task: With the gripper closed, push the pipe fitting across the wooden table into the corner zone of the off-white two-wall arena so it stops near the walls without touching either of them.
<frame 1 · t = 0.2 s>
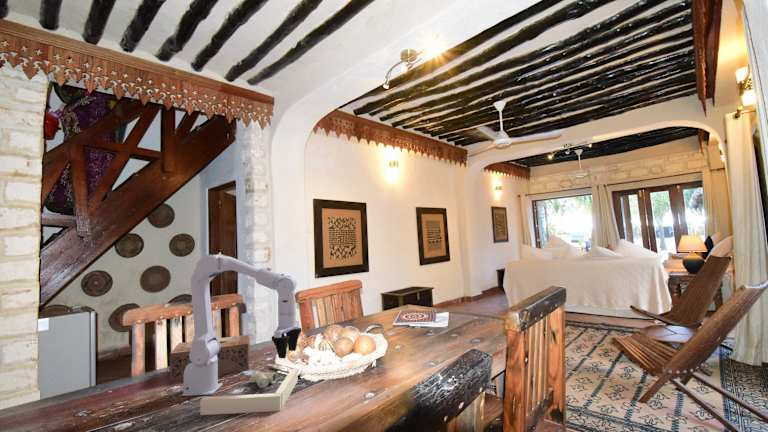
hand: (287, 354, 114), 10 cm above the table, tool pointing down, fingers open, 7 cm apart
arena: (255, 394, 107), on the table
pipe fitting: (261, 386, 114), on the table
tissue box cover: (213, 370, 131), on the table
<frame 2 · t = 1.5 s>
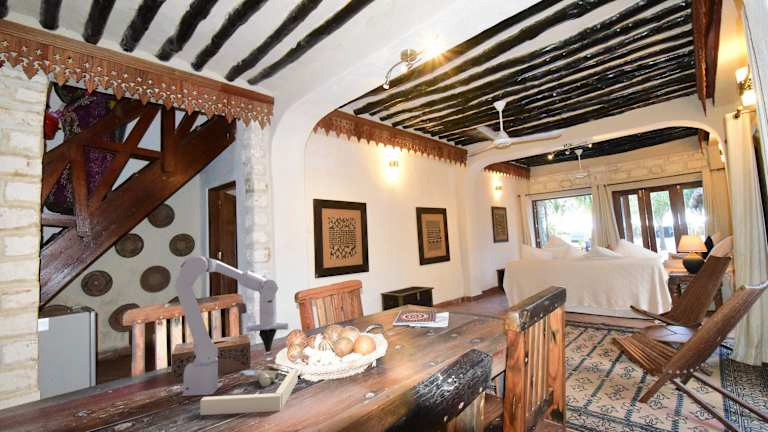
hand: (268, 350, 123), 8 cm above the table, tool pointing down, fingers closed
pipe fitting: (263, 384, 115), on the table
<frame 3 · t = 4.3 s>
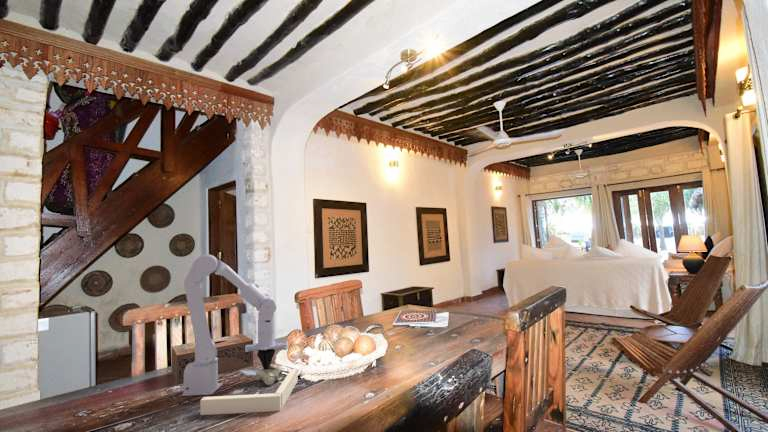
hand: (266, 371, 121), 2 cm above the table, tool pointing down, fingers closed
pipe fitting: (266, 383, 116), on the table
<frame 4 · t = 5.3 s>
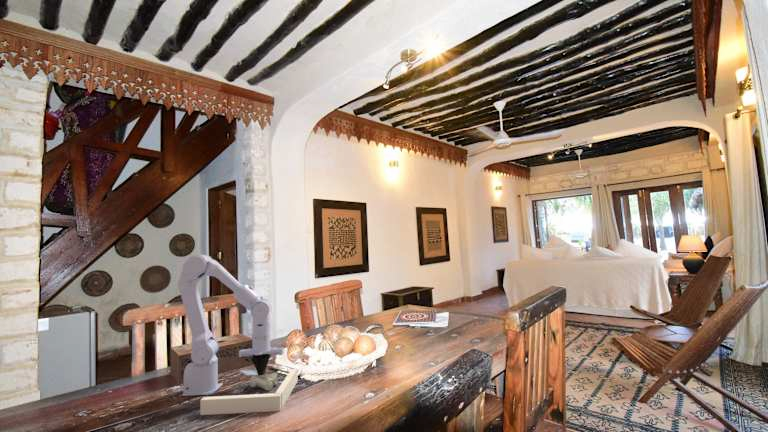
hand: (261, 377, 116), 2 cm above the table, tool pointing down, fingers closed
pipe fitting: (263, 389, 111), on the table
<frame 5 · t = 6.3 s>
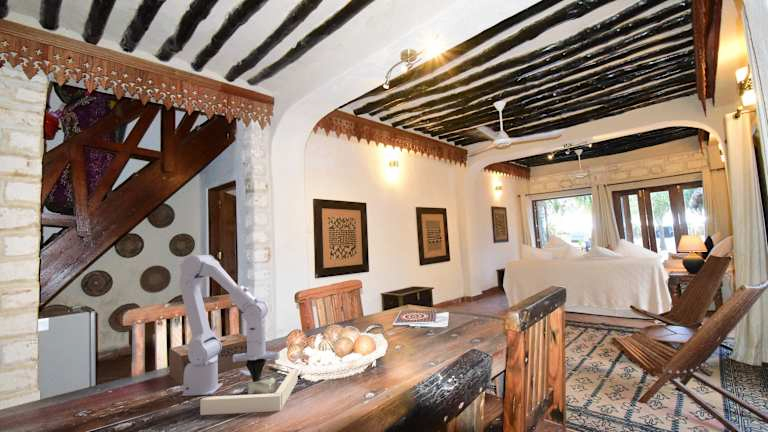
hand: (256, 383, 111), 2 cm above the table, tool pointing down, fingers closed
pipe fitting: (262, 394, 107), on the table, touching gripper
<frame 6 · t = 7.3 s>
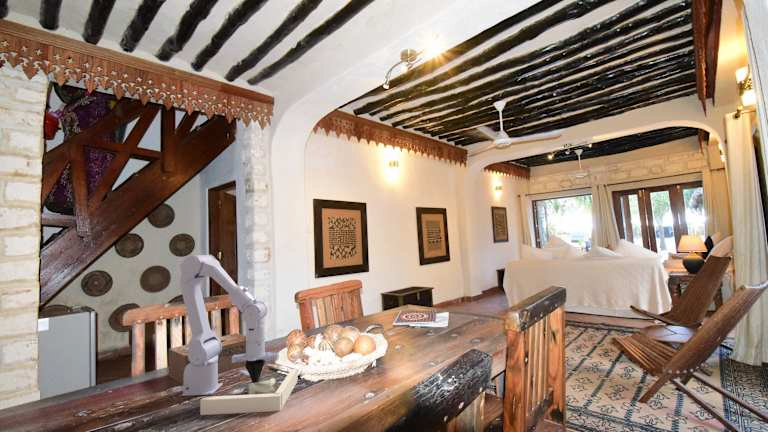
hand: (255, 384, 110), 2 cm above the table, tool pointing down, fingers closed
pipe fitting: (262, 395, 107), on the table
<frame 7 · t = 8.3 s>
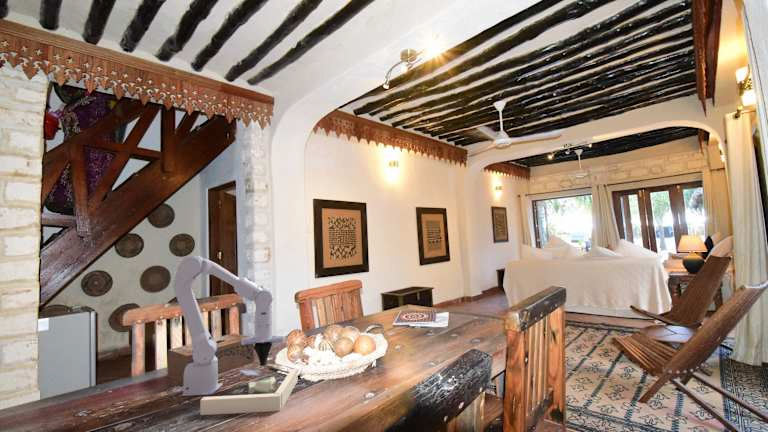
hand: (263, 364, 118), 5 cm above the table, tool pointing down, fingers closed
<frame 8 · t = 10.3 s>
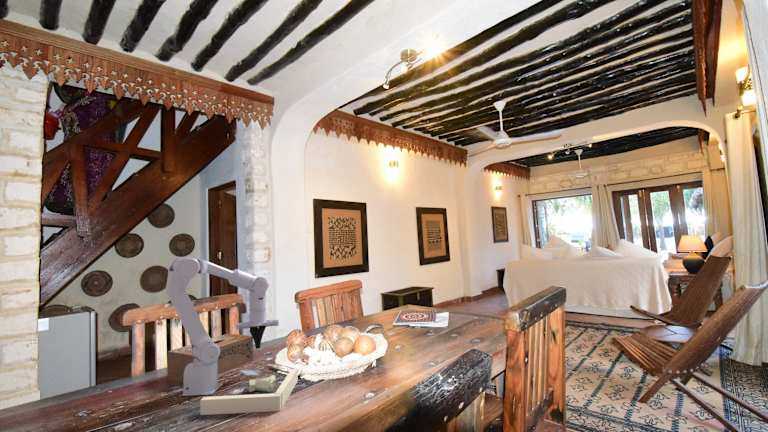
hand: (258, 347, 124), 9 cm above the table, tool pointing down, fingers closed
pipe fitting: (263, 392, 109), on the table
at the end: pipe fitting inside the target area (4.9 cm from its centre), on the table; pipe fitting touching table; pipe fitting moved 5.2 cm from its start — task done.
